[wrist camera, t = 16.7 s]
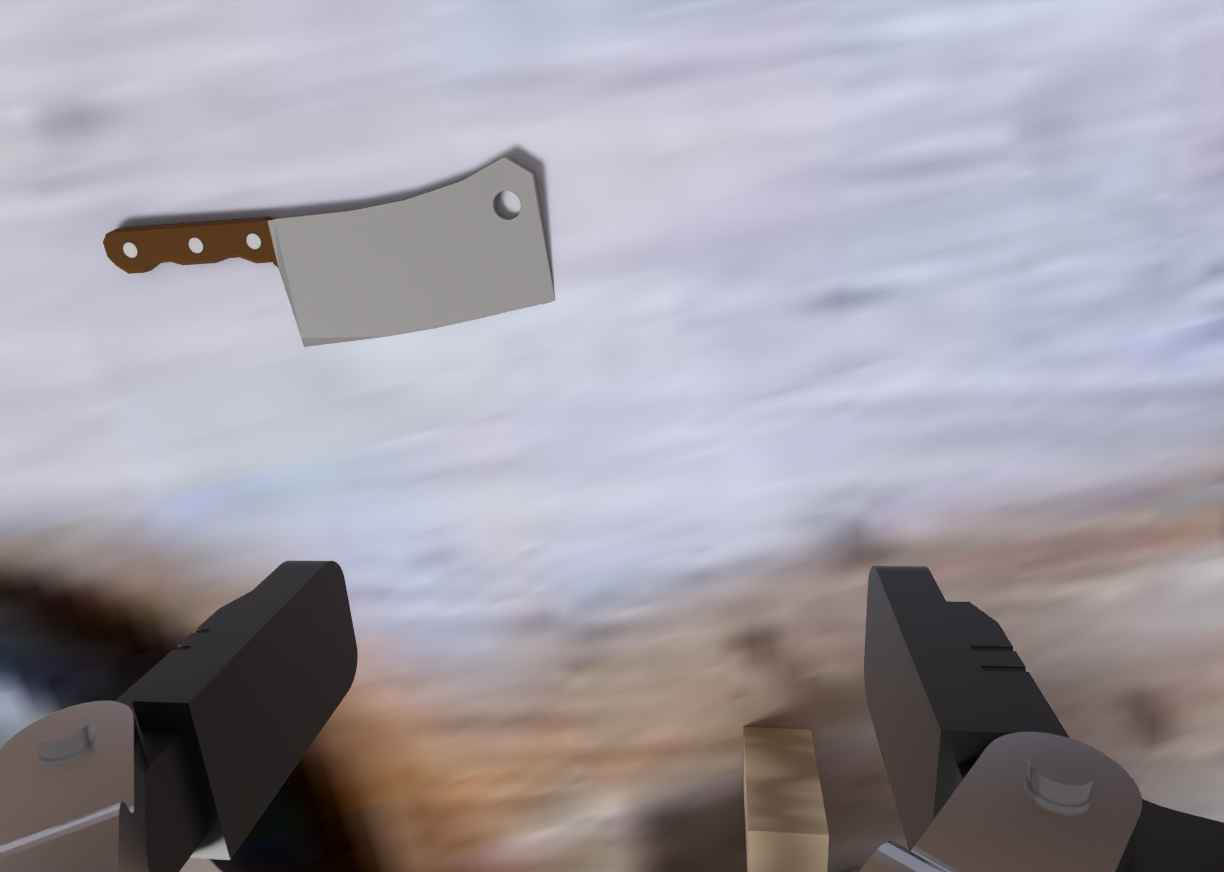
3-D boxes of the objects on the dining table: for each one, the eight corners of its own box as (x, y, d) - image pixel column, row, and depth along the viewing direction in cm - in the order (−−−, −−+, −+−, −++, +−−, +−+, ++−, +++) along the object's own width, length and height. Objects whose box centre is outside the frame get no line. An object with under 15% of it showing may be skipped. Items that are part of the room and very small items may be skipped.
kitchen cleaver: (141, 375, 45) (85, 191, 41) (153, 370, 46) (99, 190, 42) (564, 354, 42) (543, 153, 38) (568, 349, 43) (547, 153, 39)
